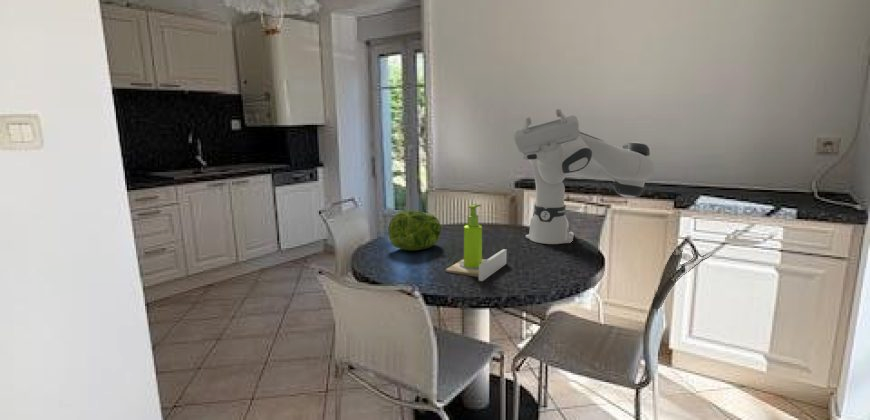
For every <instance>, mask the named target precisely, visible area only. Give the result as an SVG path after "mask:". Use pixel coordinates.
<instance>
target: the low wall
mask: <svg viewBox="0 0 870 420" xmlns="http://www.w3.org/2000/svg"><path fill="white" fill-rule="evenodd" d="M507 250H508V249H505V248H503V249H501V250H500V251H498V252H497V253H495V254H493V255H492V256H490V257H489V258H486V260H485V261H484V262H482V263H481V264H479V277H478V282H483V281H485V280H486V279H487V278H489V277H490V276H492V275H493V274H494V273H496V272H497V271H499V270H501V268H502V267H504V266H505V265H506V264H507V253H508V252H507Z"/></svg>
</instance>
